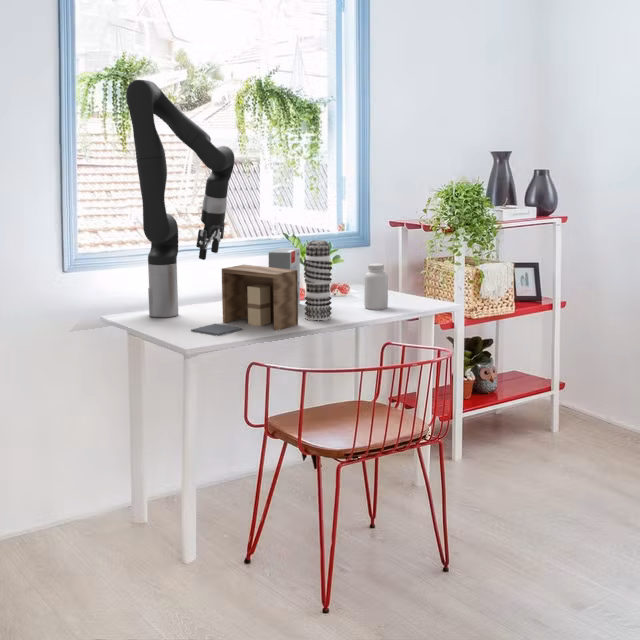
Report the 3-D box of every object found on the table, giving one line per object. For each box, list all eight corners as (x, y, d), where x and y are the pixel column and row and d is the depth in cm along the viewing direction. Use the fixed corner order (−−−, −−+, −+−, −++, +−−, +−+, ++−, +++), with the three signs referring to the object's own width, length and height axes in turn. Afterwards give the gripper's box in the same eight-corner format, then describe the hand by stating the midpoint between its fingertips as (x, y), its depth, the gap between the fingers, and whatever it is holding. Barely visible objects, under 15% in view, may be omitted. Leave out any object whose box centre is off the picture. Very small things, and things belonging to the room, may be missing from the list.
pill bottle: (361, 309, 324) (361, 265, 321) (368, 305, 331) (369, 262, 328) (383, 310, 321) (383, 266, 318) (390, 306, 328) (391, 263, 325)
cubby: (276, 330, 290) (275, 274, 287) (222, 322, 303) (221, 268, 299) (297, 324, 299) (297, 270, 296) (244, 317, 311) (243, 264, 308)
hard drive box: (290, 312, 319) (289, 252, 315) (268, 311, 321) (267, 252, 317) (300, 303, 334) (300, 247, 330) (279, 303, 336) (278, 246, 332)
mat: (218, 335, 283) (218, 333, 283) (191, 331, 290) (191, 329, 289) (242, 329, 292) (242, 327, 292) (215, 325, 298) (215, 323, 298)
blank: (260, 326, 297) (259, 288, 295) (247, 324, 300) (247, 286, 298) (270, 323, 301) (270, 285, 299) (258, 321, 304) (257, 284, 302)
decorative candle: (299, 320, 306) (298, 242, 301) (310, 314, 315) (309, 239, 310) (326, 321, 303) (326, 243, 298) (336, 316, 311) (336, 240, 306)
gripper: (214, 201, 314) (208, 247, 321) (193, 210, 302) (187, 258, 308) (234, 206, 312) (228, 253, 319) (214, 216, 300) (208, 264, 306)
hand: (208, 255), depth 313 cm, fingers open, 8 cm apart
